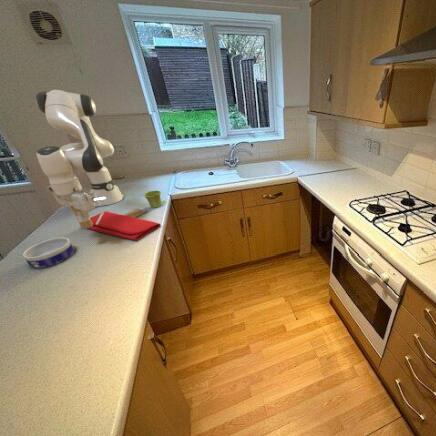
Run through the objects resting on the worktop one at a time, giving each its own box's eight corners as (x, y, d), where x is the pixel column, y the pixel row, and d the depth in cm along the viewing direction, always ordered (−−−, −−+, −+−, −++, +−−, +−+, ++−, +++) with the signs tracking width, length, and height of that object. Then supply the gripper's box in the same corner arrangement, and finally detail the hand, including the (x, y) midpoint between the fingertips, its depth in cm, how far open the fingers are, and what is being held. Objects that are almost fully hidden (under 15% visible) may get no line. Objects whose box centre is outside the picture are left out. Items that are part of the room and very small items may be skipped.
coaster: (122, 216, 141) (122, 215, 141) (136, 209, 148) (135, 209, 148) (133, 218, 138) (132, 218, 138) (146, 212, 145) (146, 211, 145)
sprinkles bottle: (80, 226, 109) (65, 199, 102) (92, 222, 112) (79, 196, 105) (82, 230, 106) (68, 202, 99) (95, 225, 109) (81, 199, 102)
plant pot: (157, 209, 148) (153, 196, 143) (144, 208, 149) (140, 195, 145) (167, 203, 156) (163, 190, 151) (155, 202, 157) (150, 190, 153)
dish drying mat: (135, 242, 116) (133, 235, 115) (81, 228, 130) (78, 222, 128) (161, 226, 129) (159, 220, 127) (109, 215, 142) (107, 209, 141)
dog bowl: (21, 272, 99) (12, 260, 96) (43, 251, 112) (36, 240, 109) (64, 264, 102) (57, 253, 99) (81, 245, 115) (75, 234, 112)
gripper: (91, 188, 99) (105, 217, 105) (62, 182, 105) (76, 209, 112) (74, 193, 93) (89, 224, 100) (44, 187, 100) (60, 215, 107)
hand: (82, 216), depth 106 cm, fingers closed on sprinkles bottle, 4 cm apart
